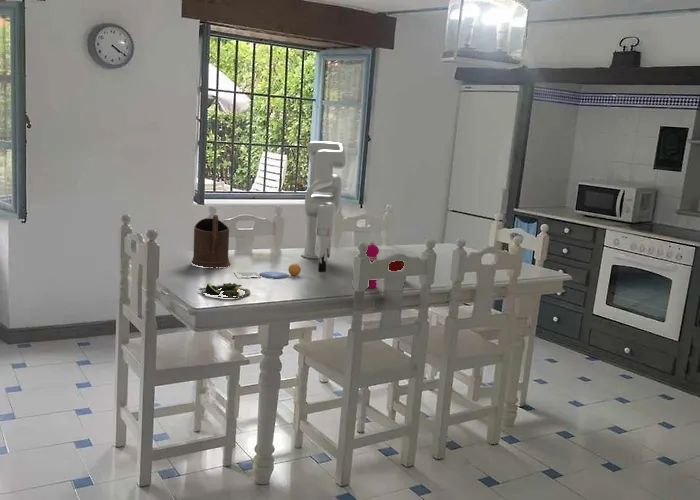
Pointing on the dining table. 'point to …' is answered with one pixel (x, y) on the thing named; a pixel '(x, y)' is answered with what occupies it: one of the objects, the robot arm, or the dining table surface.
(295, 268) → the ball
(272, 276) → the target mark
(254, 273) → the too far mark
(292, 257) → the dining table surface
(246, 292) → the salad plate
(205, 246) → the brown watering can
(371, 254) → the pepper mill
